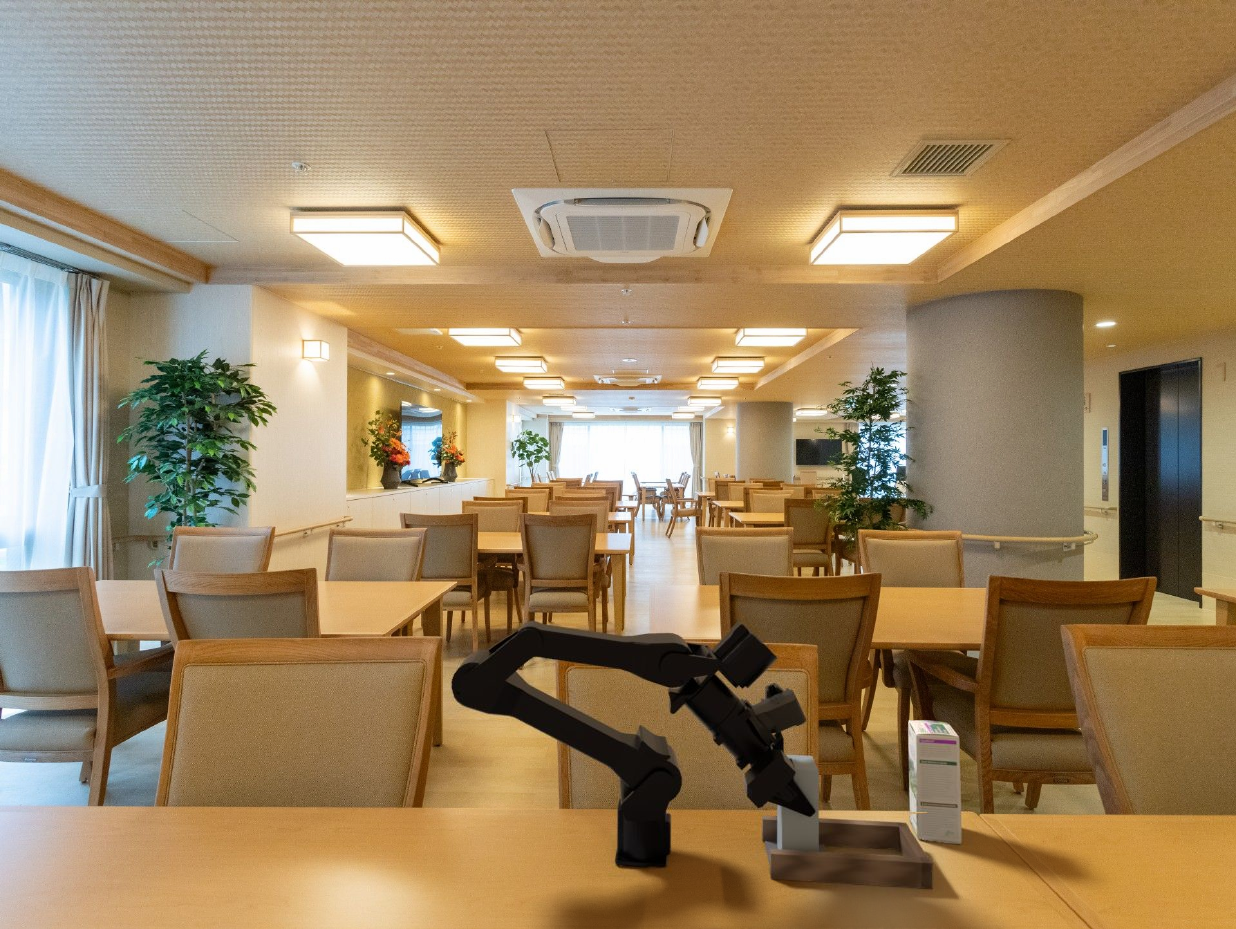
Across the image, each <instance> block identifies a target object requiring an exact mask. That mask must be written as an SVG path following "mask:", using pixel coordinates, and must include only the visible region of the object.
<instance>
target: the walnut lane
mask: <svg viewBox="0 0 1236 929" xmlns="http://www.w3.org/2000/svg"><path fill="white" fill-rule="evenodd" d="M761 840H762V843H764V846H766V847H765V850H766V855H767V859H768V864H769V865H768V866H769V876H770V879H771V880H784V881H798V882H799V881H802V882H817V883H834V884H836V883H837V884H848V885H849V884H851V885H865V886H867V885H868V886H881V887H883V886H884V887H885V886H886V887H897V888H899V887H902V888H911V889H912V888H915V889H916V888H917V889H929V890H933V889H934V888H933V887H934V886H933V885H934V882H933V879H934V876H933V875H934V874H933V870H934V869H933V867H934V866H933V861H932V860H931V858H930V857H928V855H927V853H926V852H925V850H924V849H923V848H922V846H921V844H920V843H919V841H918V840H917V837H915V835H914V833H913V832H912V831H911V829H910V826H909V824H907V822H902V821H901V822H900V821H881V820H880V821H878V820H861V819H847V818H846V819H843V818H827V817H819V851H801V850H784V849H778V847H777V815H766V814H762V815H761ZM824 846H828V847H844V846H850V847H849V848H865V849H878V850H879V849H882V850H883V849H884V850H896V851H897V850H898V849H899V850H898V851H899V852H900V854H901V855H886V854H885V855H883V854H870V853H868V854H866V853H851V852H834V851H826V849H825V847H824ZM851 846H852V847H851Z"/></svg>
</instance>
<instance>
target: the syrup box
mask: <svg viewBox="0 0 1236 929" xmlns="http://www.w3.org/2000/svg"><path fill="white" fill-rule="evenodd" d="M907 725H908V727H907V731H908V733H907V734H908V737H907V738H908V779H909V780H908V786H909V790H908V792H909V794H908V795H909V796H908V797H909V798H908V799H909V800H908V801H909V821H910V824H911V826H912V828H913V830H914V833H915V835H916V838H917V839H918V840H920V839H922V841H926V840H929V841H928V842H933V841H938V842H937V843H942V842H943V843H944V844H956V845H957V844H958V845H961V844H962V841H963V840H962V796H961V795H962V792H961V791H962V789H961V758H960V757H961V756H960V755H961V753H960V751H961V750H960V735H958V733H957V732H956V731H955V730H954V729H953V727H952V726H951V725H950V723H948V722H945V721H937V720H926V719H924V720H921V719H920V720H919V719H918V720H915V719H914V720H910V719H909V720H908V724H907ZM910 812H927V813H917V814H910Z"/></svg>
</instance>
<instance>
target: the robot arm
mask: <svg viewBox="0 0 1236 929" xmlns="http://www.w3.org/2000/svg"><path fill="white" fill-rule="evenodd" d="M533 658H541V659H548V660H554V661H555V660H556V661H561V662H569V663H575V664H584V665H588V666H589V665H590V666H595V667H602V668H603V667H604V668H611V669H614V670H615V669H616V670H621V671H624V672H627V673H630V674H632V675H634V676H636V677H639V678H640V679H642V680H645V681H647V682H651V683H653V684H656V685H660V686H661V687H665V688H668V689H667V694H668V697H669V700H668V701H669V702H668V707H669V712H670V714H672V715H675V714H676V713H677V712H678V711H680V709H681V708H682V707H684V706H685V707H686V709H687V710H688V711H690V712H691V714H692V715H693V716H694V717H696V719H697V720H698V721H699V722H700V723H701V724H702V726H704V727H705V728H706V730H708V731H709V732H710V734H711V735H712V741H713V742H714V743H715V744H716V745H717V746H718V747H720V746H721V745H722V746H723V747H724V749H726V750H727V752H729V753H730V755H731V756H732V757H733V758H734V761H735V765H736V766H737V767H738V769H740V770H741V771H743V770H744V769H745V768H746V767H748V765H750V768H749V769H747V771H745V772H744V781H743V782H744V789H745V793H746V794H745V795H746V797H747V798H748V799H749V800H750V802H752V803H753V804H754V806H755V807H756V808H757V809H760V808H763V807H764V806H765V805H766V804H767V803H770V804H775V805H776V806H777V805H779V806H782V807H785V808H788V809H790V810H793V811H795V812H798V813H800V814H803V815H805V816H808V817H811V816H812V815H814V814H815V812H816V811H815V809H814V807H813V806H812V804H811V803H810V801H809V800H808V798H807V797H806V795H805V794H804V792H803V791H802V789H801V788H800V787H799V785H798V784H797V782H796V781H795V779H794V776H795V774H796V771H795V766H794V764H793V761H792V758H790V759H789V758H788V757H787V756H786V755H787V754H786V753H785V742H784V740H785V739H784V735H783V733H782V732H784V731H786V730H788V729H790V728H793V727H795V726H796V727H800V726H801V725H803V724H806V722H807V718H806V716H805V714H804V710H803V709H802V706H801V704H800V703H799V700H798V698H797V696H796V694H795V692H794V690H793V689H789V687H786V688H785V689H783V688H782V687H781V686H780V685H778V684H777V683H776V682H772V683H769V684H768V685H766V686H765V687H764V688H765V689H764V690H765V691H764V697H763V698H761V699H760V701H759V702H757V703H756V704H755V703H754V705H753V704H752V703H751V702H750V701H749V700H748V699H747V698H746V699H744V698H743V697H742V698H739V696H737V695H736V693H735V692H733V691H732V690H731V688H730V687H729V686H728V685H727V684H726V683H725V682H724V681H723V680H722V679H721V678H720V677H719V676H718V675H717V674H716V673H717V672H720V674H721V675H722V676H723V677H724V679H726V680H727V681H728V682H729V683H730V684H731V686H733V687H734V688H735V689H737V688H739V687H740V688H741V690H743V689H744V688H747V689H749V688H750V687H751V686H752V685H753V684H754V683H755V682H756V681H757V680H758V679H759V678H760V677H761V676H762V675H763V674H764V673H765V672H767V670H768V669H770V668H771V666H772V665H773V664H774V663H775V662H777V660H778V659H779V657H777V655H776V654H774V652H773V651H772V650H770V648H769V647H768V646H767V645H766V644H765V643H764V642H763V641H762V640H761V639H760V638H759V637H758V636H757V635H756V634H755V633H752V632H751V631H750V630H749V629H748V628H747V627H746V626H745V625H744V624H743V623H742V621H737V622H736V623H735V624H733V625H732V627H731V628H730V630H729V632H728V633H726V635H725V636H723V638H722V639H720V641H719V642H718V643H717V644H716V645H715V646H713V648H712V647H711V646H710V645H707V644H701V643H695V642H688V641H685V638H683V637H682V636H680V635H679V634H676V633H673V632H657V633H654V632H653V633H652V632H651V633H649V632H648V633H641V634H635V635H619V634H612V633H605V632H599V631H591V630H584V629H578V628H571V627H565V626H559V625H552V624H544V623H541V622H539V621H536V620H529V621H526V622H523V624H522V625H521V626H520V627H519V628H518V629H517V630H515V631H513V633H511V634H509V635H507V636H506V637H505V638H503V639H501V640H499V641H498V642H497V643H495V644H494V645H493V646H491V647H490V648H489V649H487V650H486V649H481V650H477V651H474V652H471V653H470V654H469V655H467V656H466V657H465V659H464V660H463V662H461V664H460V665H459V667H458V668H457V669H456V671H455V672H454V673H453V675H452V677H451V692H452V694H453V698H454V699H455V701H456V702H457V703H458V704H459V705H461V706H463V707H464V708H467V709H471V710H475V711H478V712H480V713H483V714H486V715H493V716H494V715H495V716H504V717H511V718H514V719H516V720H518V721H520V722H522V723H524V725H527V726H530V727H532V728H533V729H534V730H537V731H539V732H541V733H543V734H545V735H547V736H549V737H551V738H552V739H555V740H557V741H559V742H561V744H564V745H566V746H568V747H570V748H571V749H574V750H576V751H578V752H580V754H583V755H585V756H587V757H589V758H591V759H593V760H595V761H596V762H599V763H601V764H603V765H604V766H606V767H607V768H609V769H611V770H612V771H613V773H614V774H616V776H617V777H618V779H619V794H620V795H619V796H620V798H619V800H618V804H617V809H616V810H617V812H616V814H617V815H616V816H617V817H616V819H617V820H616V822H617V823H616V852H615V857H614V863H615V865H619V866H621V865H622V866H635V867H648V868H649V867H650V868H651V867H652V868H666V867H667V861H668V860H667V859H668V856H670V855H671V853H672V852H671V848H672V815H671V813H667V811H668V810H667V809H668V807H669V804H670V802H672V801H674V799H676V797H677V796H678V794H680V792H681V788H682V786H683V776H682V774H681V769H680V766H679V762H678V758H677V755H676V752H675V750H674V748H673V747H672V746H671V745H670V744H669V743H668V741H667V737H666V736H664V735H662V736H661V735H657V734H655V733H653V732H652V731H650V730H649V729H647V728H646V727H645V726H644V725H643V726H642V725H638V729H637V731H636V733H627V732H626V733H625V732H621V731H619V730H617V729H615V728H613V727H611V726H609V725H607V724H605V723H603V722H602V721H600V720H598V719H596V718H594V717H592V716H590V715H588V714H586V713H585V712H582V711H581V710H579V709H577V708H575V707H573V706H572V705H570V704H567V703H565V702H563V701H561V700H560V699H558V698H556V697H554V696H552V695H550V694H548V693H547V692H544V691H542V690H540V689H538V688H536V687H534V686H533V685H531V684H529V683H528V682H527V681H526V680H525V679H524V678H523V677H522V676H521V675H520V674H519V672H518V671H519V669H520V668H522V667H524V665H525V664H527V663H529V661H531V660H532V659H533Z"/></svg>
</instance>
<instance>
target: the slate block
mask: <svg viewBox="0 0 1236 929" xmlns="http://www.w3.org/2000/svg"><path fill="white" fill-rule="evenodd" d="M785 755H786V756H787V757H788V758H789V759H790V758H792V761H793V764H794V766H795V771H796V774H795V776H794V779H795V781H796V782H797V784H798V785H799V787H800V788H801V789H802V791H803V792H804V794H805V795H806V797H807V798H808V800H809V801H810V803H811V804H812V806H813V807H814V809H815V811H816V812H815V814H814V815H812V816H811V817H808V816H805V815H803V814H800V813H798V812H795V811H793V810H790V809H788V808H785V807H782V806H779V805H777V804H776V807H777V810H776V811H777V812H776V814H777V815H776V816H777V847H778V849H784V850H801V851H819V818H820V817H819V816H820V814H819V813H820V810H819V808H820V806H819V803H820V798H819V792H820V791H819V788H820V780H819V779H820V778H819V777H820V775H819V774H820V773H819V772H820V770H819V768H818V766H817V763H816V761H815V759H814V756H812V755H800V754H799V755H798V754H797V755H796V754H785Z"/></svg>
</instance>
